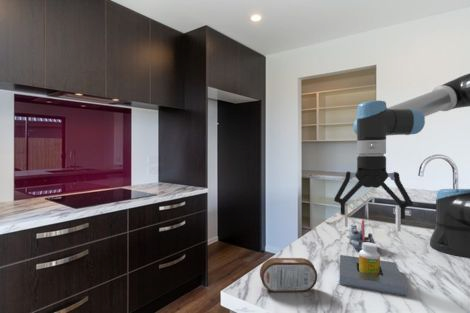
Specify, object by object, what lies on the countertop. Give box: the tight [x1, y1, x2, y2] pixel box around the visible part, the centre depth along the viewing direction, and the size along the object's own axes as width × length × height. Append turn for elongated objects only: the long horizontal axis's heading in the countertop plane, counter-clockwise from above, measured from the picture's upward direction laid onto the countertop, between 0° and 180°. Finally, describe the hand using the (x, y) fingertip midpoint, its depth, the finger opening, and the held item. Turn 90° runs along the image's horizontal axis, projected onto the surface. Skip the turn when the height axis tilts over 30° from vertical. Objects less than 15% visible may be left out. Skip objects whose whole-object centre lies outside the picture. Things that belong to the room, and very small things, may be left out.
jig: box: [339, 254, 408, 297], centre depth 79 cm, size 16×16×2 cm
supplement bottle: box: [358, 242, 381, 275], centre depth 79 cm, size 5×5×10 cm
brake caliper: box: [346, 219, 376, 252], centre depth 102 cm, size 11×11×12 cm
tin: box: [259, 257, 318, 293], centre depth 71 cm, size 15×3×8 cm, turn 92°
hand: (371, 227), depth 79 cm, fingers open, 13 cm apart
